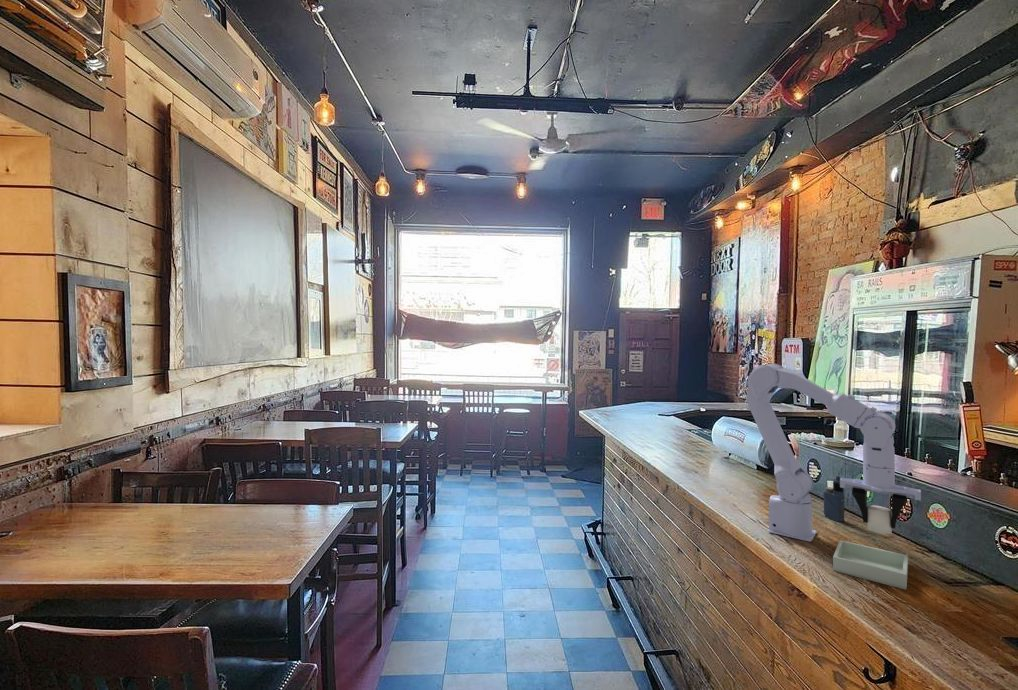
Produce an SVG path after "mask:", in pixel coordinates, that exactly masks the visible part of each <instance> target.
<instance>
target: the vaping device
mask: <svg viewBox="0 0 1018 690" xmlns="http://www.w3.org/2000/svg"><path fill="white" fill-rule="evenodd" d="M841 478H842V477H841V476H835V478H834V479H833V480H832V487H829V486H826V487H825V488H824V491H823V514H824V517H825V518H827V519H829V518H830V520H833V521H834V522H840V523H841V522H844V521H845V494H844V493H845V492H844V491H845V490H844V489H845V488H841V487H840V479H841Z"/></svg>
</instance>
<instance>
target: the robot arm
mask: <svg viewBox="0 0 1018 690" xmlns="http://www.w3.org/2000/svg"><path fill="white" fill-rule="evenodd" d="M747 382H748V383H747V385H748V386H747V392H746V398H745V399H746V404H747V406H748V408H749V411H750V413H751V414H752V417H753V419H754V422H755V424H756V426H757V428H758V431H759V432H760V435H761V437H762V439H763V442H764V444H765V447H766V450H767V451H768V453H769V455H770V458H771V460H772V462H773V464H774V468H773V469H774V470H773V471H774V472H773V473H774V477H775V480H776V491H777V493H778V495H775V494H772V495H770V497H769V501H768V531H767V532H768V533H771V534H775V535H780V536H783V537H787V538H792V539H796V540H801V541H805V542H811V543H812V542H813V540H814V537H815V536H816V535H817V532H818V531H817V530H816V529H813V499H812V497H811V496H810V492H811V491H812V490H813V488H814V480H813V478H812V476H811V475H810V474H809V473H808V472H807V471H806V470H805V469H804V467H803V465H802V463H800V461H798V460H797V458H796V457H795V454H794V452H793V450H792V448H791V446H790V443H789V441H788V439H787V437H786V435H785V433H784V430H783V428H782V426H781V423H780V422H779V420H778V418H777V415H776V413H775V410H774V409H773V407H772V404H771V402H770V401H771V399H772V397H773V396H774V394H775V392H776V390H778V389H793V390H795V391H797V392H798V393H801V394H803V395H805V396H807V397H809V398H811V399H813V400H815V401H816V402H818V403H821V404H823V405H824V406H825V407H826V409H827V411H828V414H830V415H831V416H834V418H838V419H839V420H840V421H842V422H844V423H846V424H848V425H850V426H852V427H853V428H854V429H855V428H856V429H859V430H860V432H861V433H862V435H863V444H862V472H863V475H862V478H863V479H859V478H858V479H857V478H854V479H853V478H846V477H845V478H844V477H841V479H840V487H841V488H844V489H852V491H851V494H852V495H853V498H854V500H855V501H856V503H857V505H858V507H859V510H860V513H861V516H862V522H863V523H865V524H867V506H868V492H871V493H876V494H877V493H878V494H883V495H888V496H889V495H890V496H892V497H891V518H892V520H891V528H892V529H896V526H897V520H898V517H899V515H900V513H901V511H902V509H903V508H904V506H905V505H906V503H907V499H909V498H910V499H913V500H915V501H922V490H921V489H917V488H914V487H913V488H911V487H909V486H908V487H907V486H903V485H899V484H896V481H895V479H896V474H895V473H896V472H895V470H896V465H895V463H896V461H895V460H896V459H895V452H896V451H895V449H896V448H895V446H894V444H895V439H894V436H893V434H894V432H895V431H896V422H895V420H894V419H893V418H892V417H891V416H890V415H888V413H886V412H883V411H877V410H878V409H877V408H876V407H874V406H871V407H870V406H868V405H867V404H864V403H862V402H861V401H858V400H857V399H855V398H856V396H854V395H853V394H851V393H850V394H848V395H847V394H845V393H838V394H834V393H832V392H831V391H829V390H827V389H825V388H823V386H820V385H819V384H817V383H815V382H813V381H811V380H810V379H808V378H806V377H805V376H803V375H802V374H799V373H798V372H796V371H794V370H792V369H791V368H787V367H784V366H782V365H781V364H777V363H769V364H760V365H758V366H756V367H754V368H753V369H752V370H751V372H750V374H749V375H748V377H747Z"/></svg>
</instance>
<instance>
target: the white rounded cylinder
mask: <svg viewBox="0 0 1018 690" xmlns="http://www.w3.org/2000/svg"><path fill="white" fill-rule="evenodd" d="M891 520H892V509H890V508H888V507H885V506H881V505H867V523H866V526H867V527H866V528H867V530H868V531H870V532H873V533H876V534H880V535H892V531H893V530H892V529H893V528H891Z"/></svg>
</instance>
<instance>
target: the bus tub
mask: <svg viewBox="0 0 1018 690" xmlns="http://www.w3.org/2000/svg"><path fill="white" fill-rule="evenodd" d="M832 570H833V571H834V572H836V573H841V574H845V575H847V576H852V577H856V578H859V579H864V580H867V581H871V582H875V583H879V584H883V585H886V586H890V587H895V588H897V589H902V590H905V591H906V590H907V588H908V575H909V573H908V572H909V555H908V554H903V553H899V552H895V551H890V550H886V549H881V548H876V547H872V546H868V545H864V544H858V543H854V542H850V541H847V540H841V539H840V540H839V541H838V544H837V546H836V548H835V551H834V553H833V556H832Z"/></svg>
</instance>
